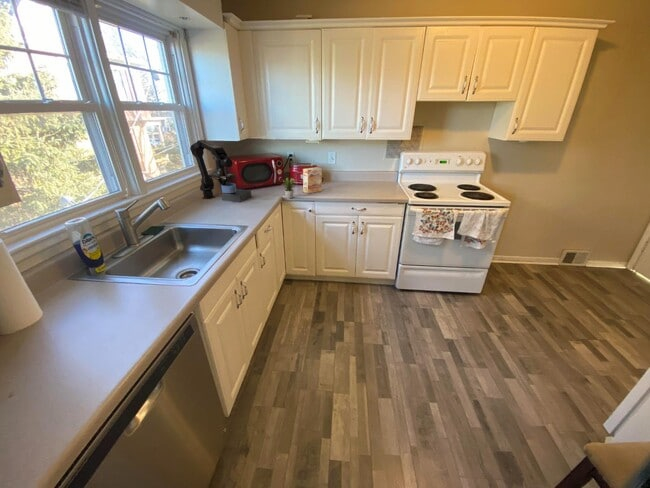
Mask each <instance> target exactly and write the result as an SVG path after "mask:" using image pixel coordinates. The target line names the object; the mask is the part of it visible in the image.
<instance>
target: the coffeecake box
mask: <svg viewBox="0 0 650 488" xmlns="http://www.w3.org/2000/svg"><path fill="white" fill-rule="evenodd" d="M322 182H323V168H322V167H317V166H316V167H306V168H302V186H303V187H302V188H303V189H302V190H303V191H302V193H304V194H309V195H310V194H313V193H320V192H322V191H323V189H322V188H323V187H322V186H323V185H322V184H323V183H322Z"/></svg>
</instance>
